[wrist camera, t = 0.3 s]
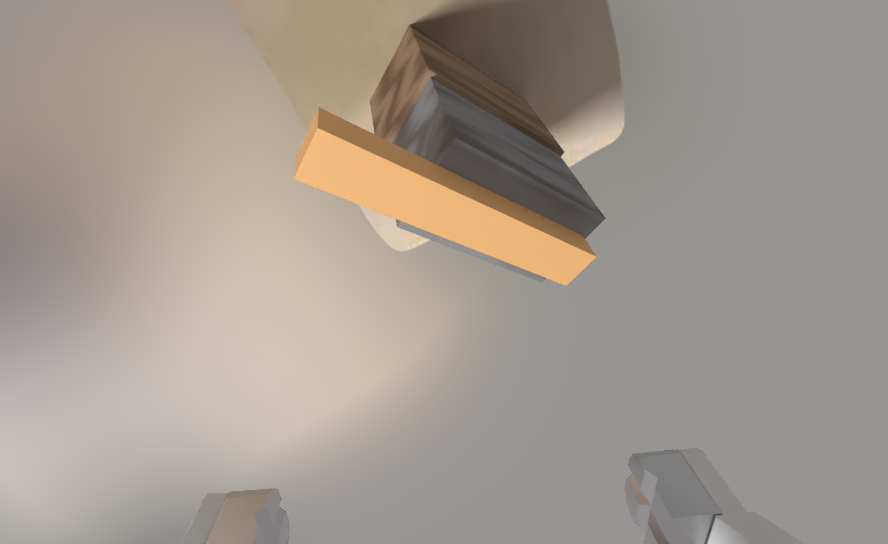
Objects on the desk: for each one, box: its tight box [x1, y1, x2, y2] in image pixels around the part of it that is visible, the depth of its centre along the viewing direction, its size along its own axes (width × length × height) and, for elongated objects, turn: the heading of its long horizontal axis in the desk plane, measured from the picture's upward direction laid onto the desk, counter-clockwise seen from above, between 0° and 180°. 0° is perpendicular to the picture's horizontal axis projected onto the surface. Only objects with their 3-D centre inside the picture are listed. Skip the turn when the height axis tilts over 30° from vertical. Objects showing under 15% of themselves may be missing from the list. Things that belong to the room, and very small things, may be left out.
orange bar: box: [294, 107, 596, 286], centre depth 35 cm, size 4×26×3 cm, turn 57°
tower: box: [370, 25, 605, 282], centre depth 48 cm, size 10×18×26 cm, turn 57°
